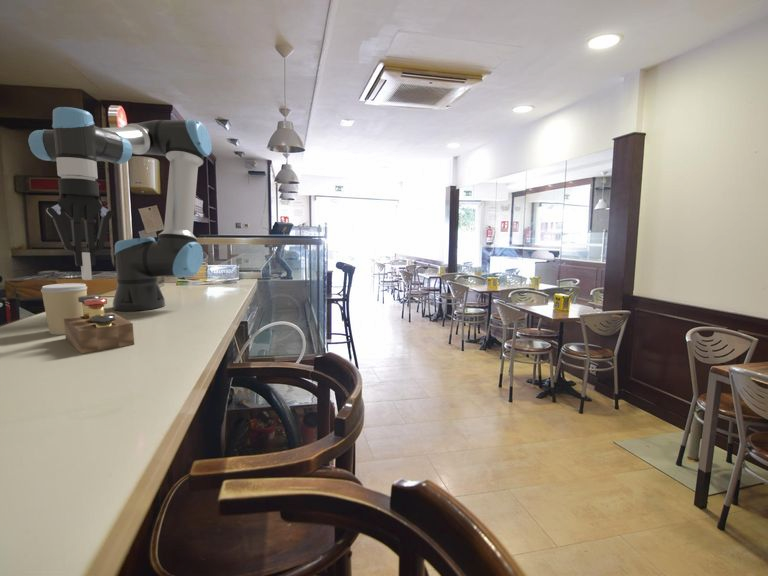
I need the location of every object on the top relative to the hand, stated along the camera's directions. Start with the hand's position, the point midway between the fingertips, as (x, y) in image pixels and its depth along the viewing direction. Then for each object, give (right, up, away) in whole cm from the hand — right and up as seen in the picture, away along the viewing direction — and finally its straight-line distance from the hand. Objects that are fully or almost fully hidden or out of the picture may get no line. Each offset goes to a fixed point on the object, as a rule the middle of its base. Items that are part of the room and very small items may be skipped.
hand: (86, 279), depth 97 cm
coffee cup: (-10, -13, +8) cm, 19 cm away
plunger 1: (0, -11, +2) cm, 11 cm away
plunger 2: (+9, -15, -6) cm, 18 cm away
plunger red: (+4, -11, -2) cm, 12 cm away
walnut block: (+4, -15, -2) cm, 15 cm away
